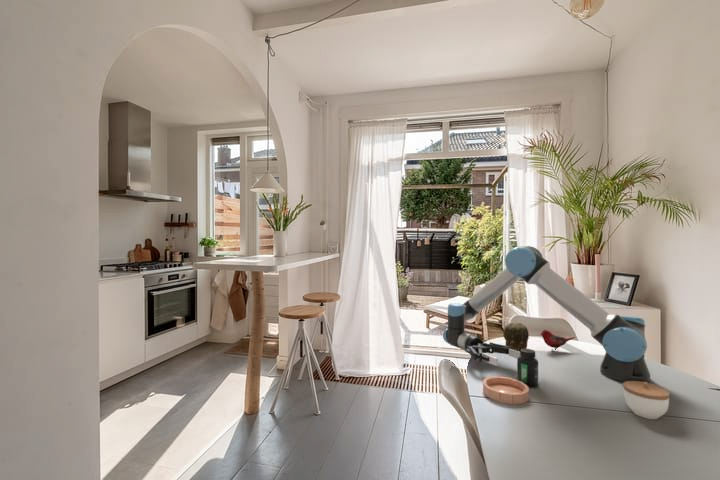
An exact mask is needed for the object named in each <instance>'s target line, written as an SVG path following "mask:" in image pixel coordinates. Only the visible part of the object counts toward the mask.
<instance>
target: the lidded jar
mask: <svg viewBox="0 0 720 480" xmlns="http://www.w3.org/2000/svg"><path fill="white" fill-rule="evenodd" d="M622 387H623V388H622V389H623V398H624V400H625V403H626V405H627V407H628V408H630V410H631V411H632V412H633V413H634V414H635V415H636V416H638V417H640V418H645V419H649V420H658V419H659V418H660V417H663V416H664V415H665V414H666V413H667V411H668V409H669V406H670V395H671V393H670V392H669V391H668V390H667V389H666V388H663V387H661V386H659V385H657V384H653V383H650V382H649V383H647V382H640V381H626V382H623V383H622Z"/></svg>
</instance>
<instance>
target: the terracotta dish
mask: <svg viewBox="0 0 720 480" xmlns="http://www.w3.org/2000/svg"><path fill="white" fill-rule="evenodd" d="M482 380H483V381H482V394H484V396H486V397H487V398H488V399H491V400H493V401H495V402H499V403H502V404H508V405H509V404H510V405H518V404H519V405H520V404H525V403H526V402H528V401H530V389H529V388H530V387H528V386H527V385H526V384H524V383H523V382H521V381H518V380H517V379H515V378H513V377H506V376H488V377H486V378H484V379H482Z"/></svg>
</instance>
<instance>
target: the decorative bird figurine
mask: <svg viewBox="0 0 720 480" xmlns="http://www.w3.org/2000/svg"><path fill="white" fill-rule="evenodd" d="M540 336H541V337H542V339H543V342H544V343H545V344H546V345H547V346H548V347H551V348H552V349H551V350H553V349H555V350H556V349H559V348H561V347H563V346H564V345H565V344H566V343H567V342H569V341H571V340H574V339H576V337H575V336H573V337H567V338H565V337H563V336H560V335H557V334H553V333H552V332H551V331H550V330H547V329H543V330H542V331H541V333H540Z"/></svg>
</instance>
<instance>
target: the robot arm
mask: <svg viewBox="0 0 720 480" xmlns="http://www.w3.org/2000/svg"><path fill="white" fill-rule="evenodd" d="M504 265H505V268H504V269H503V270H502V271H500V272H499V273H498V274H497V275H495V277H494V278H492V279H491V280H490V281H489V282H488V283H486V284H485V285H484V286H483V287H481V289H479V290H478V291H477V292H476V293H474V295H472V296H471V297H470V298H468V299H467V300H466V301H465V302H464V303H461V302H460V303H459V302H452V303H449V304H448V306H447V327H446V328H445V329H444V330H443V333H442V339H443V340H444V342H445V343H447V344H448V345H450V346H453V347H455V348H458V349H460V350H462V351H464V352H465V353H468V354H469V355H470V356H471V357H472V358H473V360H475V361H479V363H482V362H483V361H484V362H486V363H489V364H491V365H493V366H494V367H495V366H498V358H497V357H495V356H492V355H490V354H494V353H496V354H504V355H508V356H510V357H511V358H515V359H516V360H517V359H518V357H520V356H521V355H520V352H518V351H516V350H513V347H511V346H506V344H505V345H503V344H499V343H494V342H489V343H487V342H484V340H483V339H482V338H480V337H479V336H476V335H474V334H470V333H468V332H465V324H466V323H465V322H467V321H469V320H472V319H473V318H475V317H476V316H477V314H479V313H480V312H481V311H482V310H484V309H485V308H486V307H487V306H489V305H491V303H493V302H494V301H495V300H496V299H498V297H500V296H502V294H504V293H505V292H506V291H507V290H508V289H510V288H511V287H512V286H513V285H515V284H516V283H517V282H518V281H520V280H522V281H524V282H525V283H527V285H535V286H536V287H537V288H539V289H540V290H541V291H542V292H543V293H544V294H546V295H547V296H548V297H550V299H552V300H553V301H554V302H556V303H557V305H559V306H561V307H562V308H563V309H564V310H565V311H567V312H568V313H569V314H570V315H572V316H573V317H574V318H576V320H578V321H579V322H580V323H581V324H583V326H585V327H586V328H587V329H588V330H589V331H590V335H591V338H593V340H595V341H597V342H598V343H599V344H600V345H601V346H602V347H603V349H604V351H605V354H604V357H603V359H602V361H601V363H600V368H599V369H600V370H599V372H600V373H601V374H602V375H603V376H605V377H607V378H609V379H611V380H615V381H619V382H621V383H622V382H623V383H624V382H626V381H640V382H647V383H650V382H651V373H650V370H649V367H648V365H647V362H646V360H645V353H646V351H647V349H648V348H647V347H648V345H647V344H648V343H647V340H646V336H645V328H646V324H645V320H644V318H642V317H639V316H633V315H623V314H618V313H610V312H608V311H606V310H605V309H604V308H603V307H601V306H600V305H599V304H597V303H596V302H594V301H593V300H592V299H590V298H589V297H588V296H587V295H586V294H584V293H583V292H582V291H580V290H579V289H578V288H577V287H575V286H574V285H572V283H570V282H568V281H567V280H566V279H565V278H563V276H561V275H560V274H558V273H557V272H556V271H554V270H553V269H552V268H551V266H550V265H551V264H550V262H549V261H548V260H547V259H545V258H544V257H543V254H542V253H541V251H540V250H539V249H537V248H536V247H535V246H530V245H528V246H527V245H526V246H525V245H523V246H522V245H521V246H520V245H519V246H516V247H513V248H511V249H510V250H509V251H508V252H507V253H506V255H505V260H504Z"/></svg>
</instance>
